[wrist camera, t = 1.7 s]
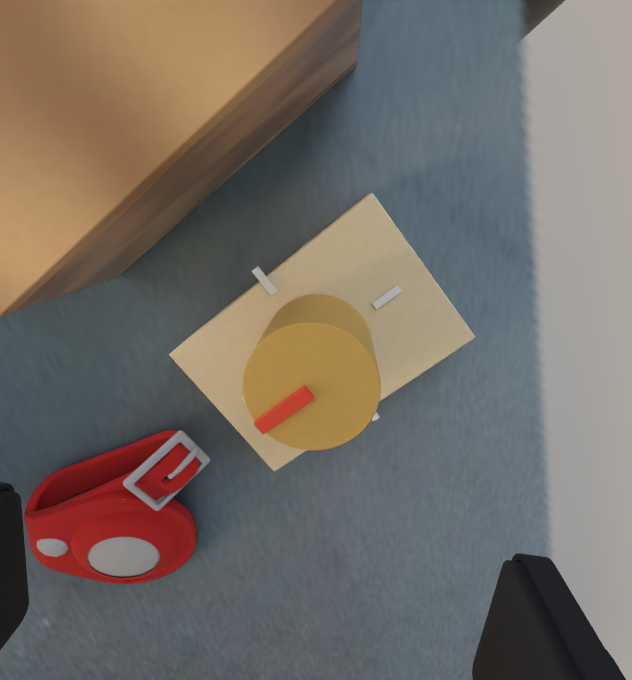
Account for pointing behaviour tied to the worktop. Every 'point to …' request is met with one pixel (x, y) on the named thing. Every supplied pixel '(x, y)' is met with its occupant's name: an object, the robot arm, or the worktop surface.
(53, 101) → the hinged box cover
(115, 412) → the worktop surface
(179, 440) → the tracker holder
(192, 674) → the worktop surface
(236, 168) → the chest
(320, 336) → the lock knob
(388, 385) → the lock plate
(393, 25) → the worktop surface
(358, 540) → the worktop surface
